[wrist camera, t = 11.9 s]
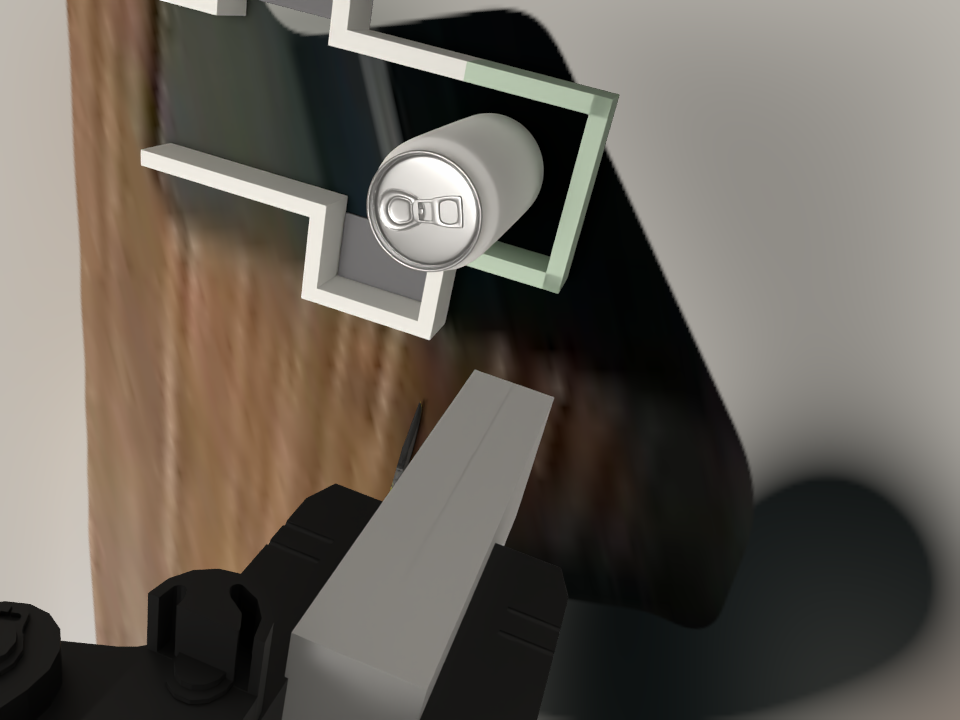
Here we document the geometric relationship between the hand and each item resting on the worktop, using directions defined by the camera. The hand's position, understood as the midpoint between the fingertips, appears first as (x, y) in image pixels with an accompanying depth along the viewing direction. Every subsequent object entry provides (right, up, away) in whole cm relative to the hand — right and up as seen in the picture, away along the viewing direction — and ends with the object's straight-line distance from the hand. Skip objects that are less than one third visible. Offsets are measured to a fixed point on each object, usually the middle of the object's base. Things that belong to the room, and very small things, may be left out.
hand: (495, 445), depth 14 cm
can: (+1, +13, +31) cm, 34 cm away
